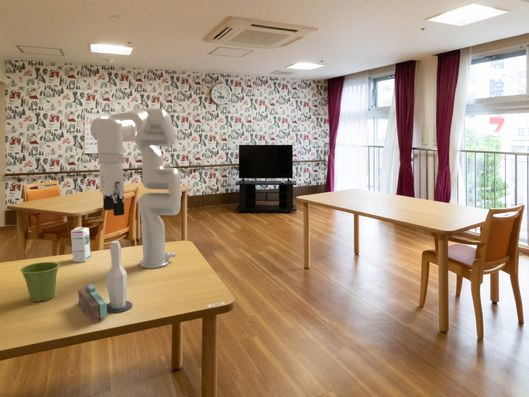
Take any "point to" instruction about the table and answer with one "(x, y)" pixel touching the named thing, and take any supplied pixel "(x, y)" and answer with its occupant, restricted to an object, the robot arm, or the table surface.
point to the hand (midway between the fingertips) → (113, 212)
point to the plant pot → (40, 280)
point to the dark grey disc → (125, 308)
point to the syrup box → (81, 244)
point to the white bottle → (116, 278)
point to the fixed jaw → (88, 304)
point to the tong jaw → (98, 301)
